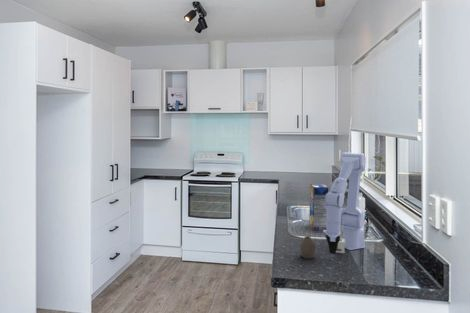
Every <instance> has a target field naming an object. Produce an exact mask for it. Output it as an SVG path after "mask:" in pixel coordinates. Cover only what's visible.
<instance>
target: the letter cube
mask: <svg viewBox="0 0 470 313" xmlns="http://www.w3.org/2000/svg"><path fill="white" fill-rule="evenodd" d="M345 249H346V248H345V239H343V238H340V241H339V242H338V244H337V248H336V252H335V254H336V253H337V254H345Z"/></svg>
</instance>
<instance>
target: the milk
mask: <svg viewBox="0 0 470 313" xmlns="http://www.w3.org/2000/svg"><path fill="white" fill-rule="evenodd" d="M358 208H359V209H360V210H361V211H362V212H363V214H364V217H365V215H366V211H365V210H366V198H365V197H364V196H363V192H359V199H358ZM349 214H354V213H349ZM355 215H357V214H355ZM362 229H363V230H364V231H365V223H364V224H363V227H362Z"/></svg>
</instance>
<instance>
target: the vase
mask: <svg viewBox="0 0 470 313" xmlns="http://www.w3.org/2000/svg"><path fill="white" fill-rule="evenodd" d="M298 247H299V254H300V256H301V257H302V258H304V259H312V258H314V257H315V255H316V252H317V247H316V244H315V242H314V241H313V239H312V237H311V236H309V235H307V236H304V238H303V239H302V240H301V242H300V244H299V246H298Z"/></svg>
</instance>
